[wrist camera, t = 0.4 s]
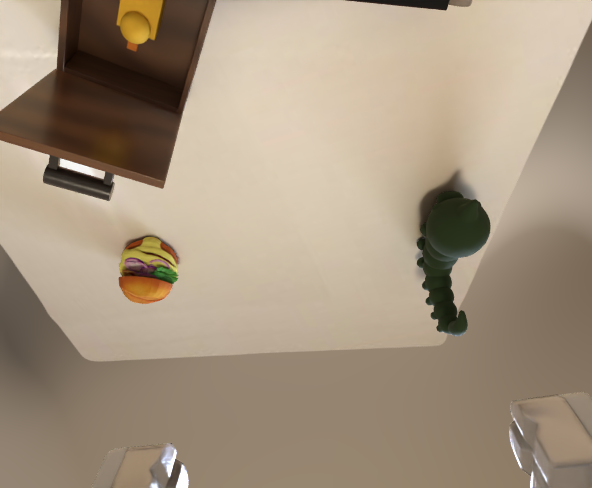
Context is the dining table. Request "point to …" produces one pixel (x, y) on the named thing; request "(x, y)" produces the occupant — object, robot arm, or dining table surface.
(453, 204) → the toy figurine
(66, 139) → the lid
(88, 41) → the chest
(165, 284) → the cheeseburger
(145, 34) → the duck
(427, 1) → the figurine character
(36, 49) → the dining table surface
